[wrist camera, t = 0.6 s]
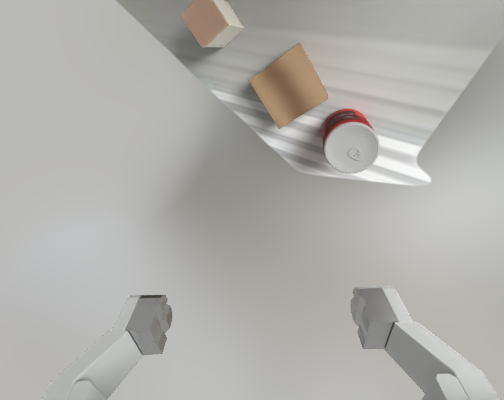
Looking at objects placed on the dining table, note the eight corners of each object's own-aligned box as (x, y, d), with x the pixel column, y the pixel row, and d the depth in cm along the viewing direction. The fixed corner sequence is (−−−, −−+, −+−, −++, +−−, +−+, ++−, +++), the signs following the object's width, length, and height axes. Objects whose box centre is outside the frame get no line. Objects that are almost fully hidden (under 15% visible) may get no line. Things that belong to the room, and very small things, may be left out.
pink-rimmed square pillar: (227, 0, 42) (204, -11, 34) (244, 28, 43) (227, 24, 35) (206, 22, 44) (180, 16, 36) (224, 48, 45) (202, 48, 37)
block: (301, 43, 43) (298, 43, 38) (326, 92, 46) (327, 98, 41) (256, 77, 47) (249, 80, 42) (282, 120, 50) (278, 129, 45)
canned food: (352, 156, 50) (360, 181, 41) (314, 139, 50) (314, 160, 41) (377, 119, 46) (392, 137, 37) (336, 100, 46) (340, 113, 36)
